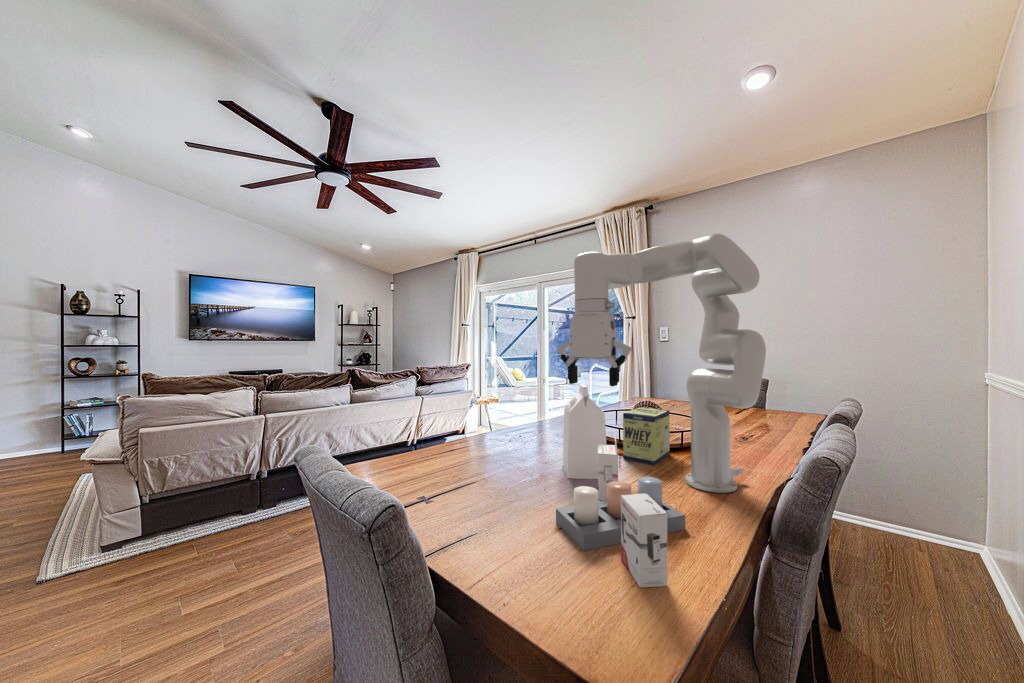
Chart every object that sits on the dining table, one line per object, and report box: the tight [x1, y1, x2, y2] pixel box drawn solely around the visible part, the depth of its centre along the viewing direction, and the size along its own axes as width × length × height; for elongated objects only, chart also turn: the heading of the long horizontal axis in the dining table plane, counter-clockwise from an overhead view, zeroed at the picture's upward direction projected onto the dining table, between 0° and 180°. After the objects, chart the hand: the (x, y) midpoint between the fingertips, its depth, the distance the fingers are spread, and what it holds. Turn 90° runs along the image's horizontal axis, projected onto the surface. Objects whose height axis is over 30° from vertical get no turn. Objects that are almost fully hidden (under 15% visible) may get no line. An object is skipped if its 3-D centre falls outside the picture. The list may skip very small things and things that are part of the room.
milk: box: [562, 383, 607, 480], centre depth 114 cm, size 12×12×26 cm
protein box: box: [622, 406, 671, 466], centre depth 127 cm, size 10×16×16 cm
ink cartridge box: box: [597, 434, 619, 501], centre depth 97 cm, size 9×5×15 cm, turn 168°
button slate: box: [637, 476, 663, 508], centre depth 83 cm, size 5×5×6 cm
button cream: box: [573, 485, 599, 526], centre depth 77 cm, size 5×5×6 cm
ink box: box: [620, 493, 668, 588], centre depth 64 cm, size 9×5×12 cm, turn 5°
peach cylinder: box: [607, 480, 632, 520], centre depth 80 cm, size 5×5×6 cm
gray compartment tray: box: [555, 500, 686, 552], centre depth 80 cm, size 24×12×3 cm, turn 109°
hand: (592, 384), depth 85 cm, fingers open, 9 cm apart
